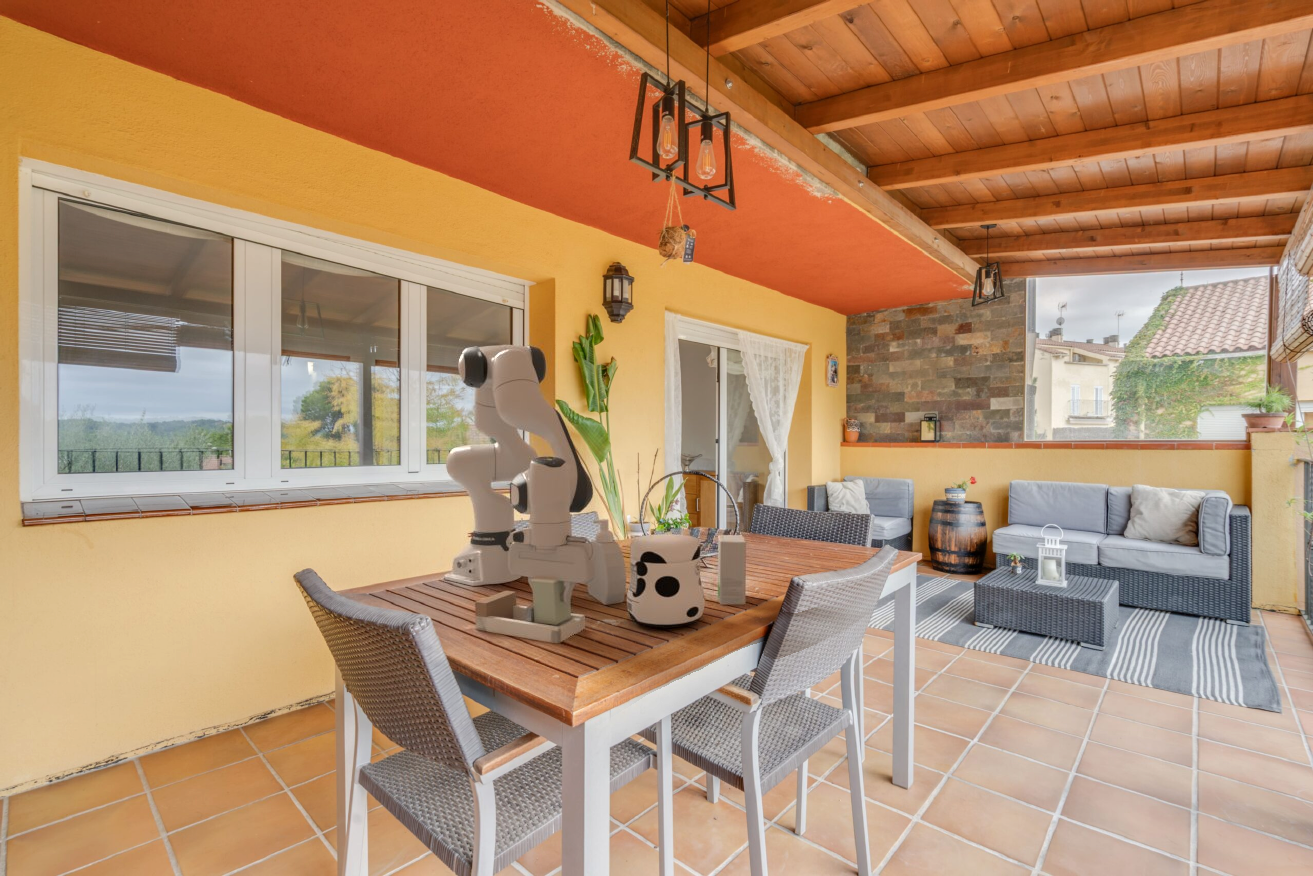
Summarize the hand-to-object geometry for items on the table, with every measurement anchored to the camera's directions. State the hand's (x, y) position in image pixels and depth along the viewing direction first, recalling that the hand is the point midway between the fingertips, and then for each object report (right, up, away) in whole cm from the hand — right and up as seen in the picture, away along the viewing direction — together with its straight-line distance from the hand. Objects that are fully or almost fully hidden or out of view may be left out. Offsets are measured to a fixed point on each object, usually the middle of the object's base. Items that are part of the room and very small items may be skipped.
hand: (551, 599), depth 129 cm
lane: (-5, -7, +3) cm, 9 cm away
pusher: (-4, -7, +2) cm, 8 cm away
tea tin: (0, -4, 0) cm, 4 cm away
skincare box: (+41, -6, +22) cm, 47 cm away
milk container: (+24, -7, +7) cm, 26 cm away
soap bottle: (+9, -7, +26) cm, 28 cm away
